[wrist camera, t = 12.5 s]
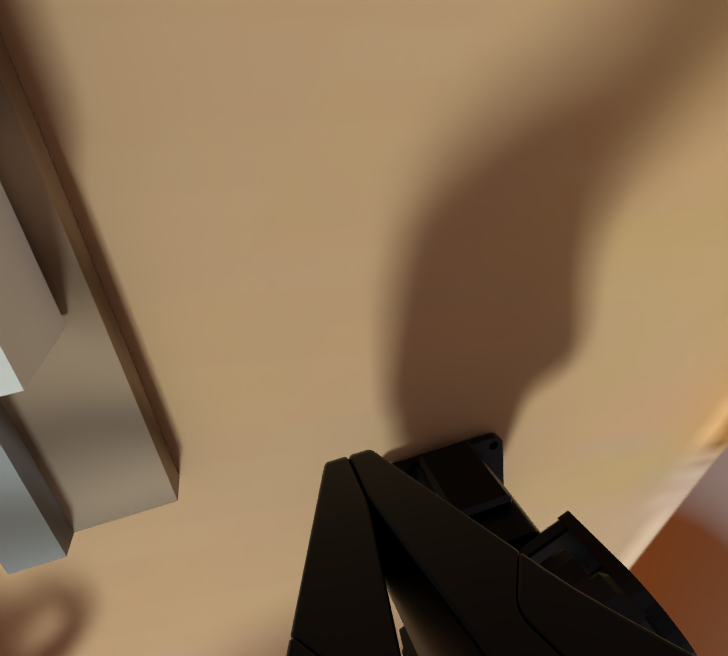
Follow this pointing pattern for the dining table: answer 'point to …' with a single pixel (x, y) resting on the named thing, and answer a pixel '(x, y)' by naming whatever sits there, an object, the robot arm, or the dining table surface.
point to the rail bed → (68, 377)
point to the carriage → (22, 307)
